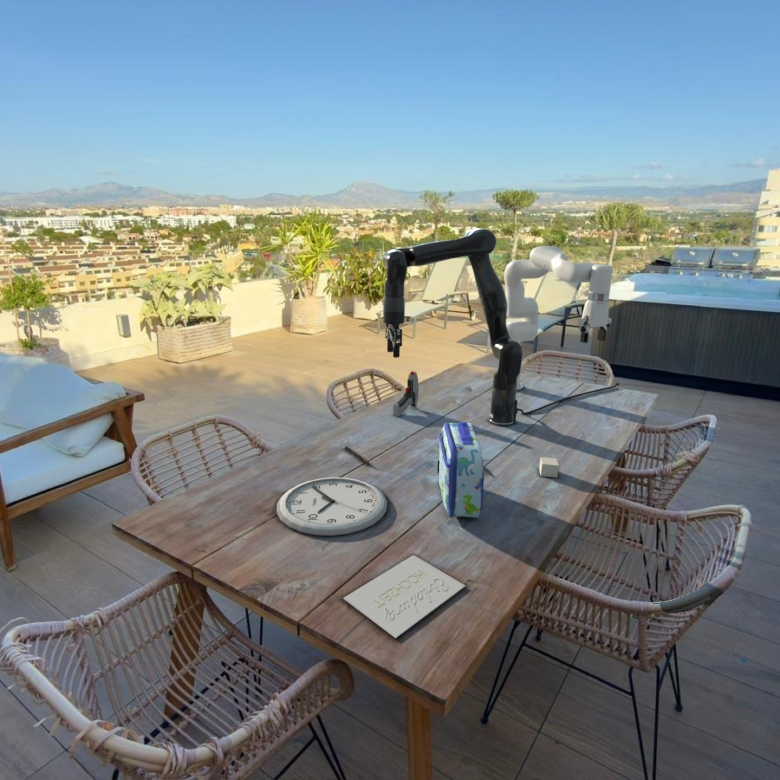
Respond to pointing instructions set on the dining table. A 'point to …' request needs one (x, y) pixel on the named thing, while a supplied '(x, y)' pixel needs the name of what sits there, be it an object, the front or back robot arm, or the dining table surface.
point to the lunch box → (461, 470)
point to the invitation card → (404, 595)
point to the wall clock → (331, 506)
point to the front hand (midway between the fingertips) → (393, 354)
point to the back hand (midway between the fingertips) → (592, 341)
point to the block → (549, 467)
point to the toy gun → (408, 395)
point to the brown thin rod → (357, 455)
